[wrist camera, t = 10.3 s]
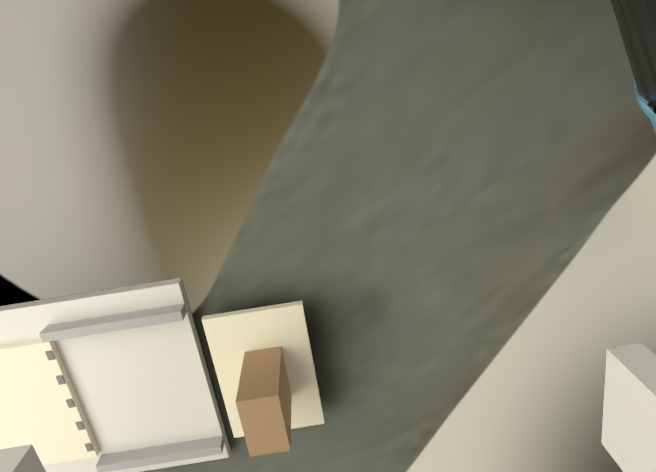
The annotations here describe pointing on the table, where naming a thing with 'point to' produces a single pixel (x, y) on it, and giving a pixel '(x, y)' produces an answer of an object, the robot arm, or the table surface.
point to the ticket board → (108, 381)
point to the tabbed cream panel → (265, 373)
